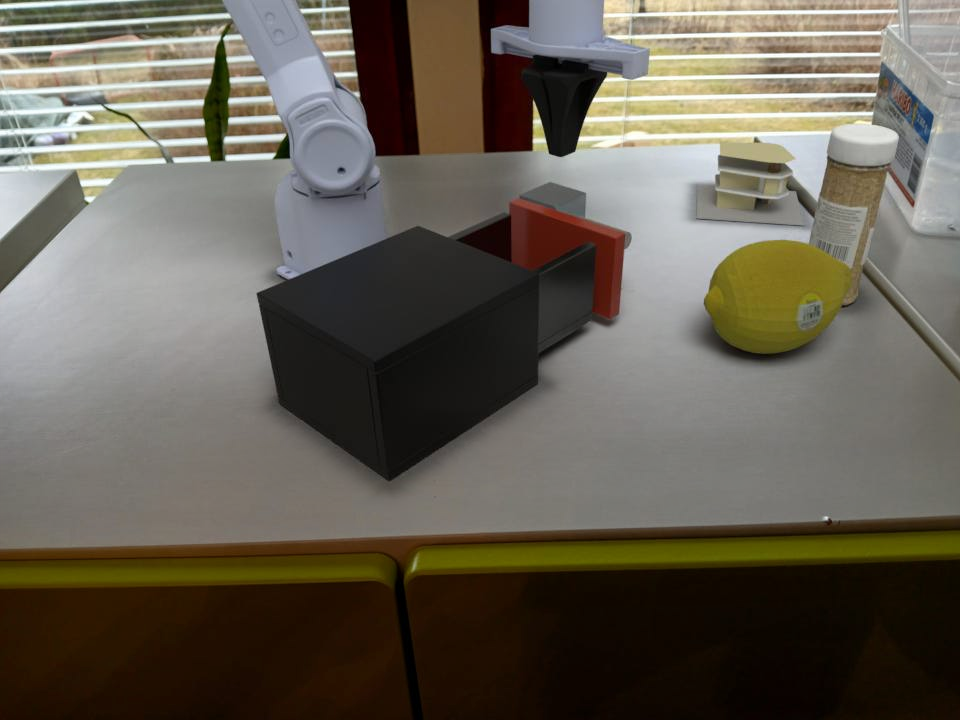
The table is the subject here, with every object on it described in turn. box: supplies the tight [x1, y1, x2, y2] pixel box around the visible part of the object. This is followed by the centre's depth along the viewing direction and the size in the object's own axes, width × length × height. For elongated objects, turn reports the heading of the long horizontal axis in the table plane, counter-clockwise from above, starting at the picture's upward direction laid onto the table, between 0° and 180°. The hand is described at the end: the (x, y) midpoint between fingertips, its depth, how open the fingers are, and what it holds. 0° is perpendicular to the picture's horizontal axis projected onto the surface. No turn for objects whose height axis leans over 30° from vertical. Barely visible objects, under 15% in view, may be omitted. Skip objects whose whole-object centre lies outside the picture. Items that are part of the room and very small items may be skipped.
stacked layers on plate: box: [696, 142, 805, 226], centre depth 79 cm, size 10×9×6 cm
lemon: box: [703, 239, 852, 355], centre depth 56 cm, size 11×8×8 cm
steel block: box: [519, 181, 587, 218], centre depth 74 cm, size 4×4×4 cm
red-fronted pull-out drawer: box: [447, 198, 632, 354], centre depth 60 cm, size 17×10×7 cm, turn 136°
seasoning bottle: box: [808, 123, 900, 306], centre depth 61 cm, size 5×5×13 cm
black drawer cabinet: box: [256, 225, 540, 482], centre depth 52 cm, size 14×12×9 cm
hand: (562, 152), depth 67 cm, fingers closed
